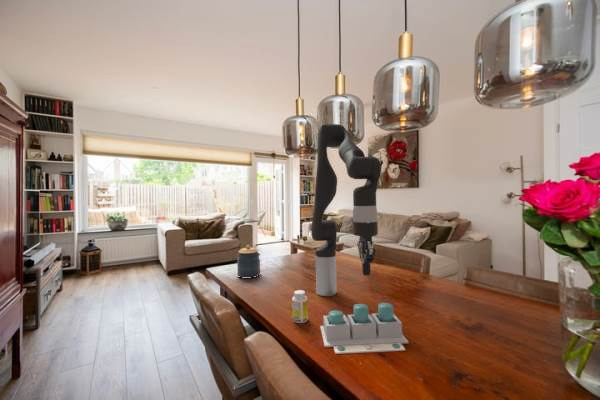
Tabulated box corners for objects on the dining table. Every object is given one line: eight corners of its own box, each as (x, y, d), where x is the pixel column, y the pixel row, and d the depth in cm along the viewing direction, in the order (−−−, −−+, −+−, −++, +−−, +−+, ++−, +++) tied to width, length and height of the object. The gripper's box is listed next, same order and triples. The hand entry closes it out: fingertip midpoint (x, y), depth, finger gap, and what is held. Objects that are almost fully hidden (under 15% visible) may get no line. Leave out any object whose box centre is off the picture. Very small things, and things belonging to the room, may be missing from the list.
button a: (328, 329, 88) (327, 310, 88) (342, 328, 88) (341, 310, 88) (330, 336, 83) (329, 317, 83) (345, 335, 83) (344, 316, 83)
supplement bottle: (307, 316, 100) (306, 288, 100) (309, 323, 95) (308, 294, 95) (292, 317, 100) (291, 289, 100) (293, 324, 94) (292, 295, 94)
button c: (376, 321, 88) (376, 303, 88) (390, 320, 89) (390, 302, 88) (381, 328, 84) (381, 308, 84) (396, 327, 84) (395, 308, 84)
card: (333, 347, 79) (333, 345, 79) (400, 344, 80) (400, 342, 80) (335, 353, 76) (335, 351, 76) (405, 350, 77) (405, 348, 77)
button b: (352, 322, 88) (351, 304, 88) (366, 321, 88) (365, 303, 88) (355, 329, 84) (355, 310, 83) (370, 328, 84) (370, 309, 84)
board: (320, 327, 91) (319, 312, 91) (393, 324, 92) (392, 309, 92) (324, 347, 79) (324, 330, 79) (408, 343, 80) (408, 326, 80)
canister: (233, 278, 150) (232, 246, 150) (244, 271, 162) (243, 242, 162) (254, 279, 146) (253, 247, 146) (264, 273, 158) (263, 243, 158)
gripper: (349, 218, 92) (350, 269, 92) (358, 222, 79) (359, 281, 79) (371, 218, 92) (372, 268, 92) (383, 221, 79) (385, 280, 79)
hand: (366, 274), depth 86 cm, fingers closed
